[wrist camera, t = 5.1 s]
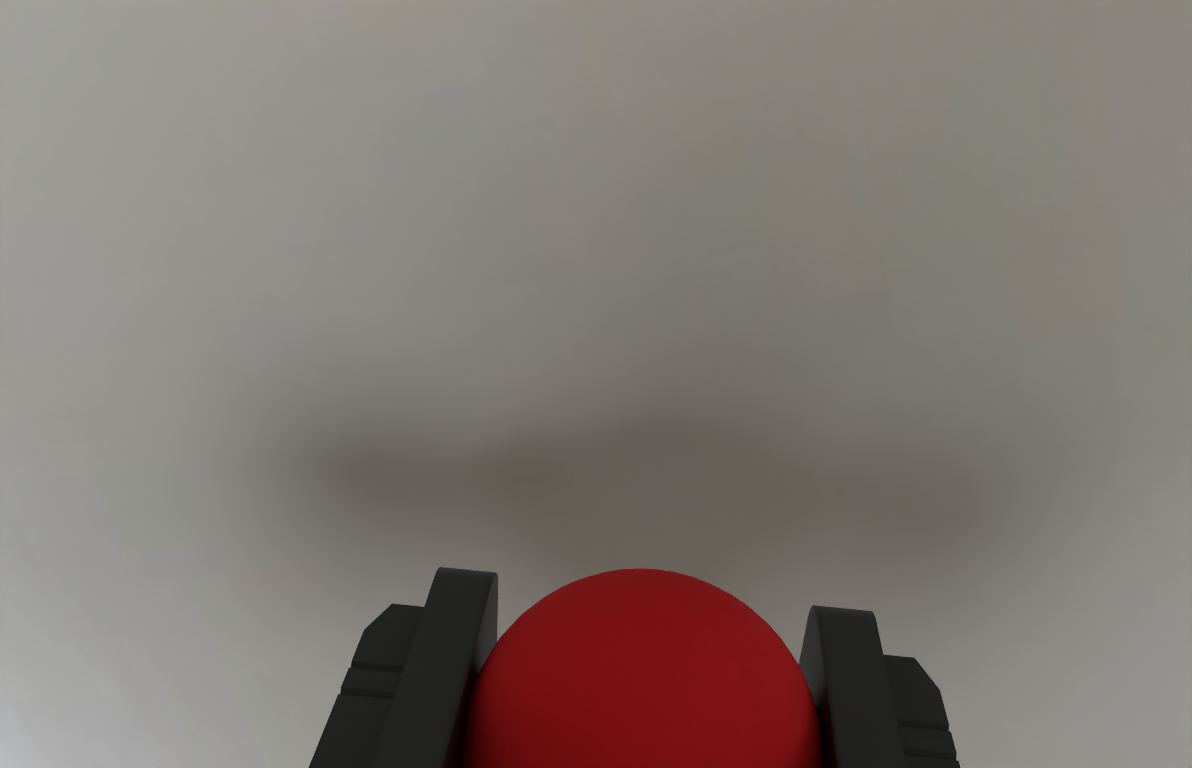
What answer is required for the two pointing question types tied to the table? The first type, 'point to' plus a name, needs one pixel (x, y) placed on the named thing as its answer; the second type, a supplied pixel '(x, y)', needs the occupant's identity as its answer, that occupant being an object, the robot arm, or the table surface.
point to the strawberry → (641, 682)
